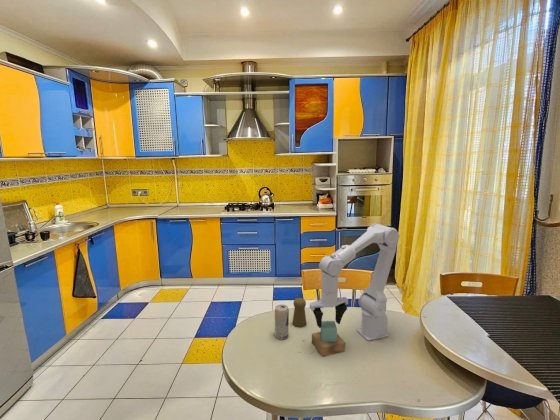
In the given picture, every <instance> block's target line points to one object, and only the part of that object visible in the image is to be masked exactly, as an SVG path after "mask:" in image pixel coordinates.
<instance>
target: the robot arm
mask: <svg viewBox="0 0 560 420" xmlns="http://www.w3.org/2000/svg"><path fill="white" fill-rule="evenodd" d="M399 239H400V233H399V232H398V230H397V229H396V228H395V227H390V226H386V225H382V224H380V223H376V222H375V223H372V224H371V225H370V226H368V227H367V229H366V231H365V232H364V233H363V234H362V235H360V237H358V238H357V239H356V240H355V241H353V242H352V243H351V244H345V245H344V244H343V245H341V246H340V248H339V249H338V250H336V251H334V252H332V253H331V254H330V255H326V256H324V257H322V259H321V260H320V262H319V263H318V268H319V270H320V271H321V291H320V292H321V299H318V300H316V301H314V302H309V309H310V310H311V311H312V312H313V315H314V318H315V322H316V326H317V327H318V328H319V329H321V326H322V321H323V316H324V312H323V311H322V309H324V308H335V310H334V311H335V319H334V320H335V323H336V324H337V325H340V324H341V321H342V318H343V317H344V314H345V313H346V311H347V310H348V307H347V305H349V299H348V298H347V297H346V296H343V297H338V292H339V290H338V288H339V287H338V286H339V275H340V274H341V272H342V271H343V268H344V267H345V266H346V265H347V264H348V263H350V262H351V261H353V260H354V259H355V258H356V254H357V253H359V252H360V251H362V250H364V248H365V249H366V247H367V246H370V245H371V244H377V245H378V248H379V249H380V250H379V253H378V256H377V261H376V263H375V267H374V271H373V274H372V277H371V280H370V283H369V285H368V287H366V288H364V289H363V290H362V294H361V295H360V296H359V298H358V305H359V307H360V309H361V311H362V313H361V327H359V328H356V331H357V332H358V333H359V334H360V335H361V336H362V337H363V338H364V339H365V340H367V341H370V342H371V341H374V340H377V339H378V340H379V339H383V338H388V337H389V334H387V333H388V316H387V314H386V311H387V302H388V299H387V296H386V294H385V293H384V292H385V288H386V284H387V280H388V278H389V274H390V271H391V267H392V264H393V260H394V259H395V258H394V257H395V255H396V251H397V247H398V246H397V245H398V242H399Z"/></svg>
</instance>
